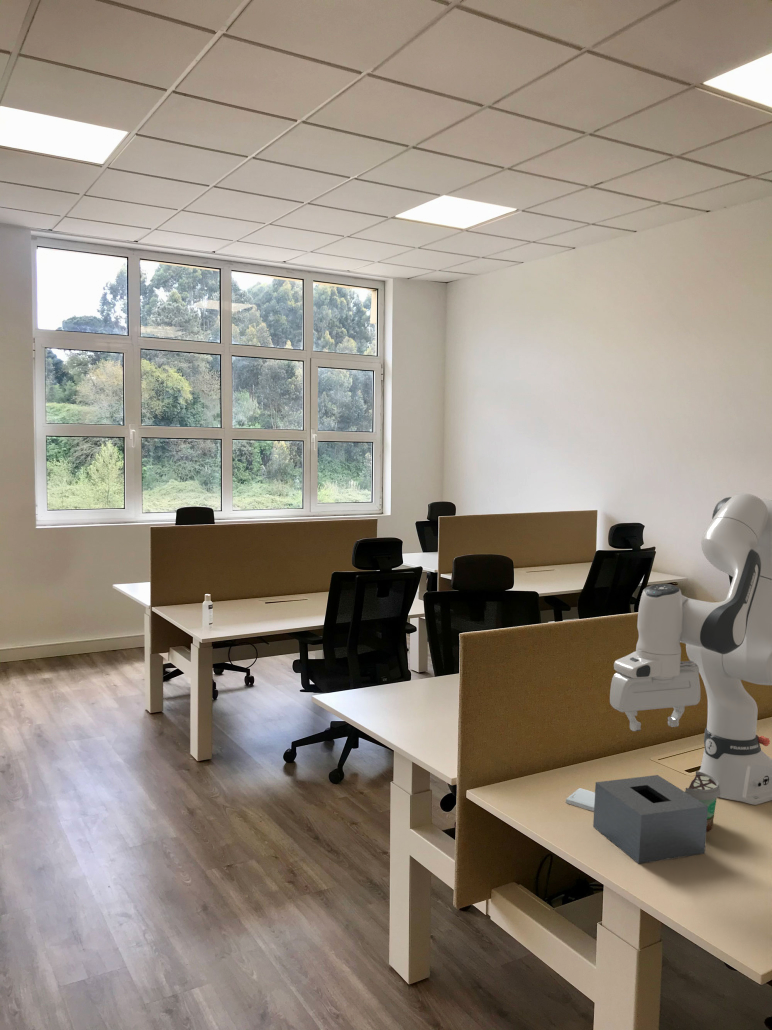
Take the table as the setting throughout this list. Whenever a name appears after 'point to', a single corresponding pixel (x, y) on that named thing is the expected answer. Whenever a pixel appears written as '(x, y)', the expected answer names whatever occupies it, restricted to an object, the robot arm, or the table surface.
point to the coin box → (650, 818)
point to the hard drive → (582, 799)
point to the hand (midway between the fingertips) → (654, 728)
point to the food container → (705, 794)
